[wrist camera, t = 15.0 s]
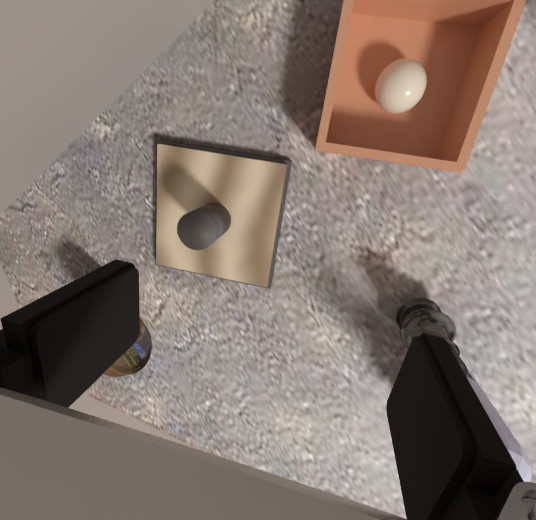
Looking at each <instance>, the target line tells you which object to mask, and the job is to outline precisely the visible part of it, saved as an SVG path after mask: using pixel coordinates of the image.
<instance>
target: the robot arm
mask: <svg viewBox="0 0 536 520" xmlns="http://www.w3.org/2000/svg"><path fill="white" fill-rule="evenodd" d="M1 322H2V327H3V329H2V330H0V520H536V483H531V482H524V481H523V479H522V477H521V475H520V474H519V472H518V470H517V468H516V467H517V466H516V464H515V462H514V460H513V459H512V457H511V455H510V453H509V452H508V450H507V448H506V446H505V445H504V443H503V441H502V439H501V437H500V436H499V434H498V432H497V430H496V429H495V427H494V425H493V423H492V421H491V420H490V418H489V416H488V414H487V413H486V411H485V409H484V407H483V406H482V404H481V402H480V400H479V398H478V397H477V395H476V393H475V391H474V390H473V388H472V386H471V384H470V382H469V381H468V379H467V377H466V375H465V374H464V372H463V370H462V368H461V367H460V365H459V363H458V361H457V359H456V358H455V356H454V354H453V352H452V351H451V349H450V347H449V345H448V343H447V342H446V340H445V339H444V338H443V337H439V336H435V335H431V334H427V333H422V334H421V335H420V336H414V337H413V339H412V341H411V344H410V346H409V349H408V351H407V354H406V356H405V359H404V361H403V364H402V366H401V368H400V371H399V373H398V376H397V378H396V381H395V383H394V386H393V388H392V391H391V393H390V396H389V398H388V401H387V416H388V422H389V427H390V432H391V437H392V443H393V448H394V453H395V459H396V464H397V469H398V474H399V480H400V485H401V490H402V496H403V501H404V506H405V511H406V517H407V519H404V518H402V517H399V516H396V515H393V514H390V513H387V512H384V511H381V510H379V509H376V508H373V507H370V506H367V505H364V504H361V503H359V502H356V501H353V500H350V499H347V498H344V497H341V496H338V495H335V494H332V493H329V492H326V491H323V490H320V489H316V488H313V487H310V486H307V485H304V484H301V483H298V482H295V481H292V480H289V479H286V478H283V477H280V476H277V475H274V474H271V473H268V472H265V471H262V470H259V469H256V468H253V467H250V466H247V465H244V464H241V463H238V462H235V461H231V460H228V459H225V458H222V457H219V456H216V455H213V454H210V453H207V452H204V451H201V450H198V449H194V448H191V447H188V446H185V445H182V444H179V443H176V442H173V441H170V440H166V439H163V438H160V437H157V436H154V435H151V434H148V433H144V432H142V431H139V430H135V429H132V428H129V427H126V426H123V425H120V424H117V423H114V422H110V421H107V420H104V419H101V418H98V417H95V416H92V415H88V414H85V413H82V412H79V411H75V410H73V409H69V408H68V407H69V406H70V405H71V404H72V403H73V402H75V400H76V399H78V398H79V397H80V396H81V395H82V394H83V393H84V392H85V391H86V390H87V389H88V388H89V387H90V386H91V385H92V384H93V383H94V382H95V381H96V380H97V379H98V378H99V377H100V376H101V375H102V374H103V373H104V372H105V371H106V370H107V369H108V368H109V367H110V366H111V365H113V364H114V363H115V362H116V361H117V360H118V359H119V358H120V357H121V356H122V355H123V354H124V353H125V352H126V351H127V350H128V349H129V348H130V347H131V346H132V345H133V344H134V343H135V342H136V341H137V339H138V337H139V334H140V319H139V273H138V270H137V269H136V268H135V266H134V264H132V263H128V262H124V261H120V260H114V261H112V262H110V263H108V264H106V265H104V266H102V267H100V268H98V269H96V270H94V271H92V272H91V273H89V274H87V275H85V276H83V277H81V278H79V279H77V280H75V281H73V282H71V283H69V284H67V285H65V286H63V287H61V288H59V289H57V290H55V291H53V292H51V293H50V294H48V295H46V296H44V297H42V298H40V299H38V300H36V301H34V302H32V303H30V304H28V305H26V306H24V307H22V308H20V309H18V310H16V311H15V312H13V313H11V314H9V315H7V316H5V317H3V318H1Z"/></svg>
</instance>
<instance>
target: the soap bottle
mask: <svg viewBox="0 0 536 520" xmlns="http://www.w3.org/2000/svg"><path fill="white" fill-rule="evenodd" d="M467 379H468V381H469V382H470V384H471V386H472V388H473V390H474V391H475V393H476V395H477V397H478V398H479V400H480V402H481V404H482V406H483V407H484V409H485V411H486V413H487V414H488V416H489V418H490V420H491V421H492V423H493V425H494V427H495V429H496V430H497V432H498V434H499V436H500V437H501V439H502V441H503V443H504V445H505V446H506V448H507V450H508V452H509V453H510V455H511V457H512V459H513V460H514V462H515V464H516V466H517V467H516V468H517V470H518V472H519V474H520V475H521V477H522V479H523V481H524V482H530V480H531V478H532V476H531V470H530V465H529V460H528V456H527V455H526V453H525V452H524V450H523V449H522V447H521V446H520V444H519V443H518V441H517V440H516V438H515V437H514V435H513V434H512V432H511V431H510V429H509V428H508V427H507V425H506V424H505V422H504V421H503V419H502V418H501V416H500V415H499V413H498V412H497V410H496V409H495V407H494V406H493V404H492V403H491V401H490V400H489V398H488V397H487V395H486V394H485V392H484V391H483V390H482V388H481V387H480V386H479V384H478V383H477V382H476V381H474V380H473V379H471V378H469V377H468V378H467Z"/></svg>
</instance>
